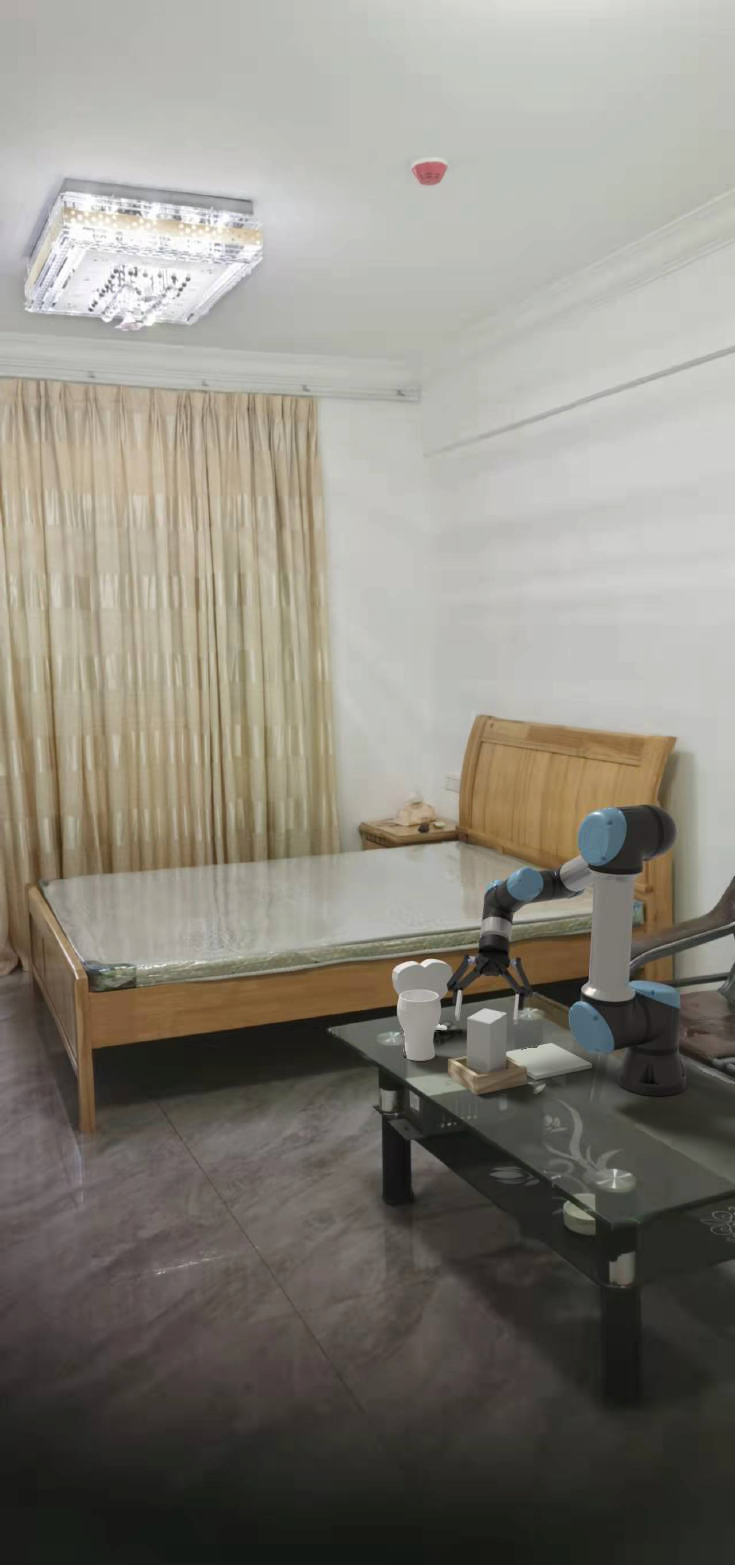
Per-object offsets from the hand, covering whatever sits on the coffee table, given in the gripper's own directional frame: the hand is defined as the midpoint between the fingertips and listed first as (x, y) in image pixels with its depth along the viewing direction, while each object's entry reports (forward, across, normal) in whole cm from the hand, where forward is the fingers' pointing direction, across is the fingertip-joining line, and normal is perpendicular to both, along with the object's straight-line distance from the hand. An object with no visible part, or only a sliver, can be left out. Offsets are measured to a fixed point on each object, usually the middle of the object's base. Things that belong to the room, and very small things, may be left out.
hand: (486, 1020), depth 272 cm
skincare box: (+13, -1, -5) cm, 14 cm away
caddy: (+12, -1, -5) cm, 13 cm away
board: (+3, -13, -15) cm, 20 cm away
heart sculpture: (-9, +20, -27) cm, 35 cm away
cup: (+4, +17, -14) cm, 23 cm away
